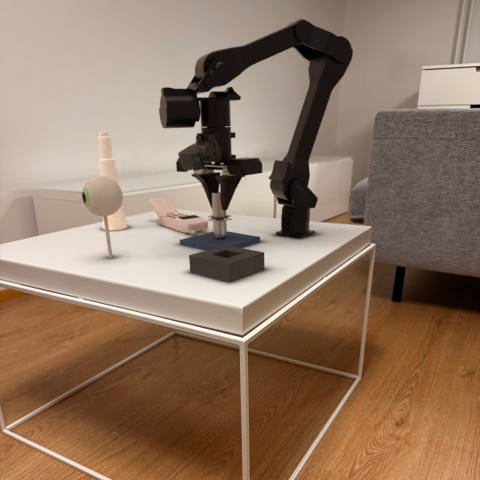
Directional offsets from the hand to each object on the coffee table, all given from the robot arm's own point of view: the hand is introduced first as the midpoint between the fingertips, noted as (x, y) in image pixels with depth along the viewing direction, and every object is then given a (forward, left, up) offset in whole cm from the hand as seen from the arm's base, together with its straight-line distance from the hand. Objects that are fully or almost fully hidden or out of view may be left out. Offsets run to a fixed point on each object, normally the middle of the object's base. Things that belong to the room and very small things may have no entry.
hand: (219, 209), depth 96 cm
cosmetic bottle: (+4, -32, -7) cm, 33 cm away
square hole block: (+14, +15, -7) cm, 22 cm away
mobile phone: (-6, -20, -7) cm, 22 cm away
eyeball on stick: (+21, -9, -7) cm, 24 cm away
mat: (0, 0, -7) cm, 7 cm away
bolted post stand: (0, 0, -6) cm, 6 cm away
